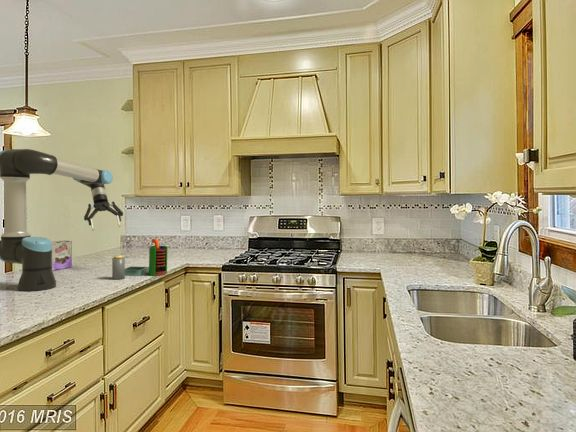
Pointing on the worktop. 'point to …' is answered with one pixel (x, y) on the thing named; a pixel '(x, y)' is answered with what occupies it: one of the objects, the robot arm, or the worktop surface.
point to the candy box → (61, 255)
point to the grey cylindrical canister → (118, 267)
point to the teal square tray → (136, 271)
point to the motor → (157, 259)
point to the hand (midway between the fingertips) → (106, 227)
